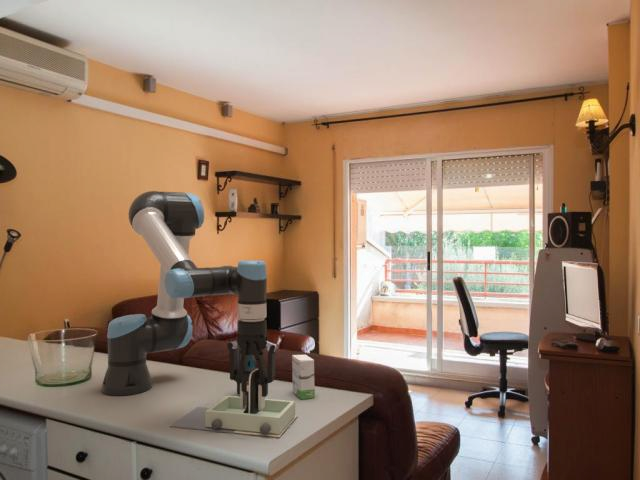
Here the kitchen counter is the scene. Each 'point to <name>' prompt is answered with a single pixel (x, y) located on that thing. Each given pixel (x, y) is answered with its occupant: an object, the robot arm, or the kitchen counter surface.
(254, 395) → the battery charger
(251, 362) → the handheld gaming console
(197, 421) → the track
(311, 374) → the ink box
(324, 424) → the kitchen counter surface
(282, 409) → the shallow sage green tray
